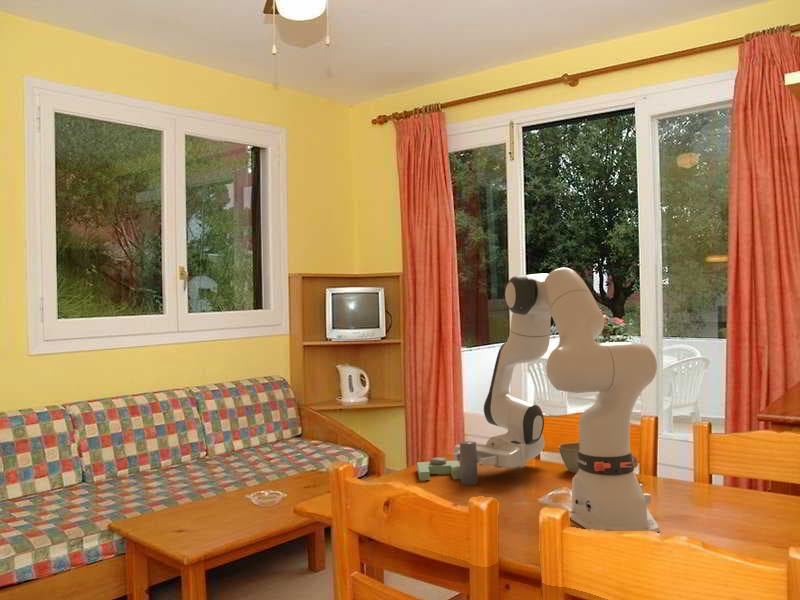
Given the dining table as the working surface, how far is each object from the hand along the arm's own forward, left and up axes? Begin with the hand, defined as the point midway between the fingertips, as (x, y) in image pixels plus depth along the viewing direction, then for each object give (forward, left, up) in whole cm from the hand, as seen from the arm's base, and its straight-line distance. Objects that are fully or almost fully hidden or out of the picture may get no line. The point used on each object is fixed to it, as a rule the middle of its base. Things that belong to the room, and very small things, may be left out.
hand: (467, 459), depth 194 cm
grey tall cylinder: (0, 0, -7) cm, 7 cm away
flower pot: (+8, -32, -7) cm, 34 cm away
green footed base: (+11, +7, -7) cm, 15 cm away
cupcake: (-2, -41, -7) cm, 42 cm away
